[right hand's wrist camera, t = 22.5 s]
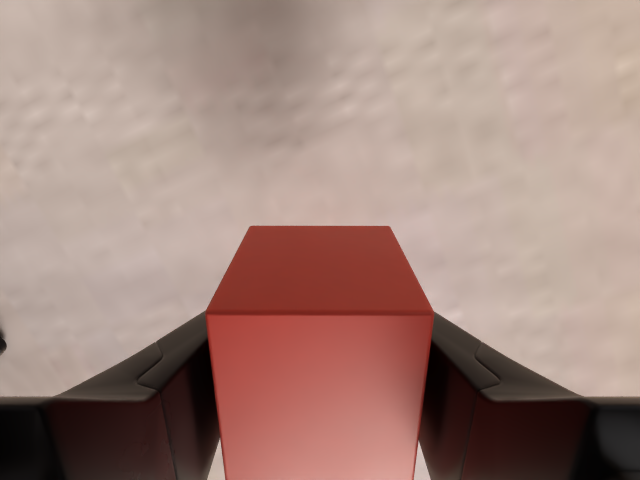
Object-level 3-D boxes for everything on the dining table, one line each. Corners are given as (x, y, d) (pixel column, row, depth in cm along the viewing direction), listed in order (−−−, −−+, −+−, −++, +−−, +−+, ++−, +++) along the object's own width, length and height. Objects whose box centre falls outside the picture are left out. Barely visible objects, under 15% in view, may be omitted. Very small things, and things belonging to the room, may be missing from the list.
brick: (381, 353, 13) (413, 490, 9) (258, 352, 13) (225, 489, 9) (390, 225, 12) (436, 311, 7) (249, 224, 12) (202, 311, 7)
